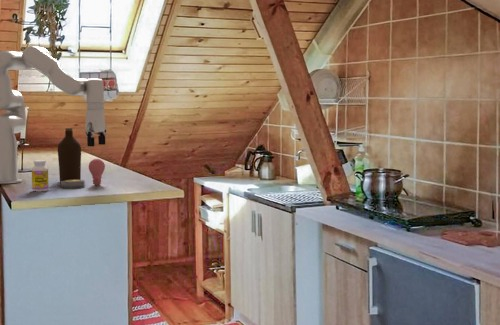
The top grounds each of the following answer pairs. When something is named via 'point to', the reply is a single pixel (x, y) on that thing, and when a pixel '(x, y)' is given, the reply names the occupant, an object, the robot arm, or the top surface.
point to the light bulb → (96, 170)
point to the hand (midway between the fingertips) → (96, 145)
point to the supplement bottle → (39, 176)
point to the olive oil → (69, 157)
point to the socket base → (73, 183)
